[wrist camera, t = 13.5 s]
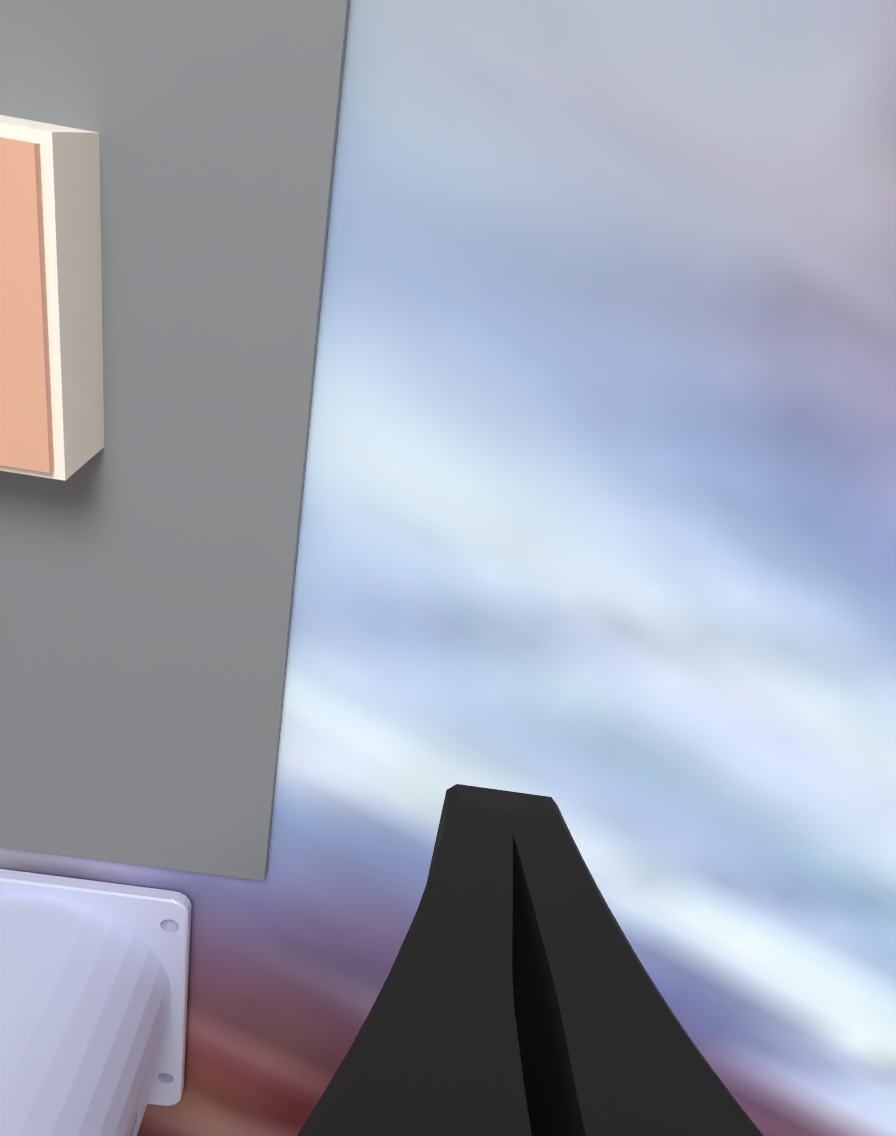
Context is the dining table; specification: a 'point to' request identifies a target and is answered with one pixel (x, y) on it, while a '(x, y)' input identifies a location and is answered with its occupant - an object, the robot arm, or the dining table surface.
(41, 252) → the tile
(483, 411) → the dining table surface
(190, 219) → the mat
